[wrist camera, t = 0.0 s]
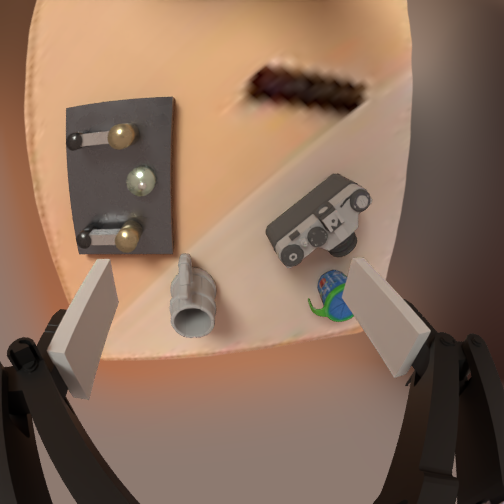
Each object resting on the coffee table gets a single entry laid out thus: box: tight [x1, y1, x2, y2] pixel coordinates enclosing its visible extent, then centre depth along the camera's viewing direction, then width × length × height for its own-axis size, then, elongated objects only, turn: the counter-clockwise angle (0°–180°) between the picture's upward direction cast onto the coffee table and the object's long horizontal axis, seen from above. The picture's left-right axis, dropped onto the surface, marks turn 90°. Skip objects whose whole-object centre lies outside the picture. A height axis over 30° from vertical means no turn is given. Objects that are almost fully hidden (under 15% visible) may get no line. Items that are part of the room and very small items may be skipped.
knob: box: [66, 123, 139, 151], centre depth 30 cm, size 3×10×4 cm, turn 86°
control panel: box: [66, 97, 174, 254], centre depth 35 cm, size 23×16×4 cm
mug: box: [170, 253, 216, 338], centre depth 41 cm, size 8×12×12 cm, turn 4°
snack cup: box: [308, 270, 354, 322], centre depth 48 cm, size 11×8×7 cm
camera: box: [266, 174, 372, 268], centre depth 41 cm, size 16×10×10 cm, turn 129°
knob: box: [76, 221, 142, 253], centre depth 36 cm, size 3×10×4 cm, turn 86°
